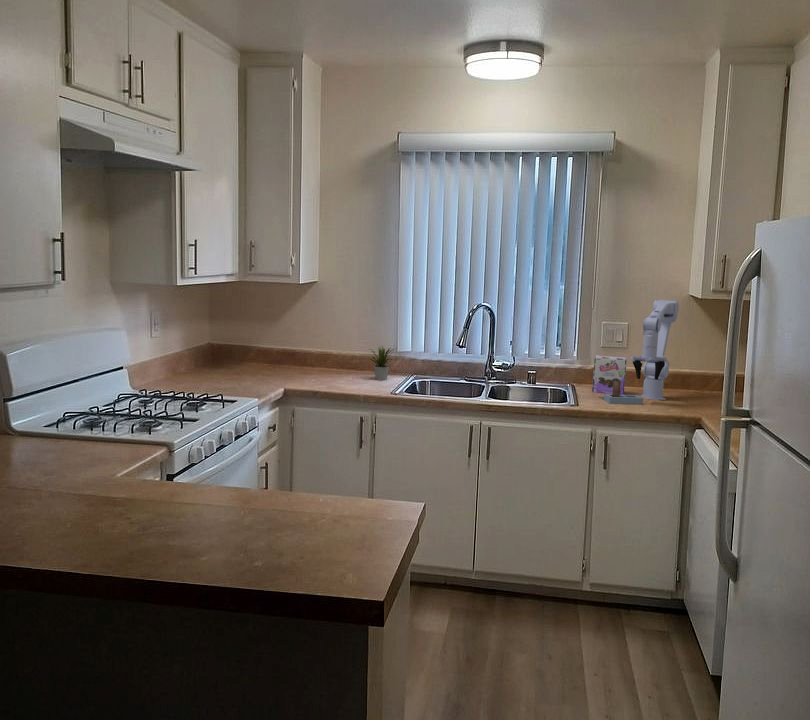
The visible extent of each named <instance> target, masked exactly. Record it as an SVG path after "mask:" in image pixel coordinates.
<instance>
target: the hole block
mask: <svg viewBox="0 0 810 720" xmlns="http://www.w3.org/2000/svg"><path fill="white" fill-rule="evenodd" d="M603 397H604V400H603V401H604V402H606V403H608V404H610V405H611V404H612V405H643V403H644V397H643V396H641V395H637V394H624V395H620V397H612V394H607V393H604V396H603Z"/></svg>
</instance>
